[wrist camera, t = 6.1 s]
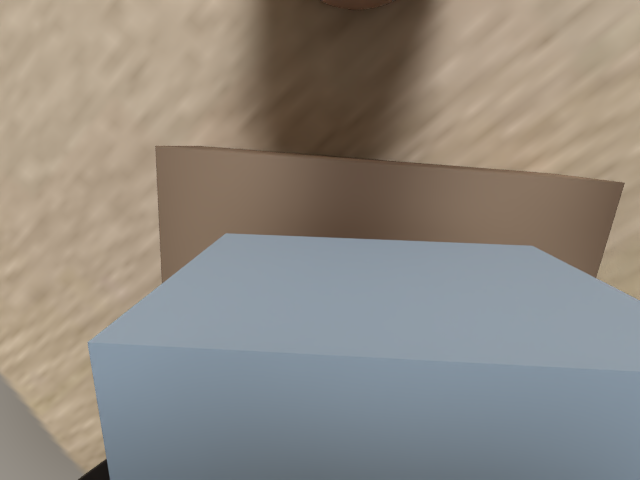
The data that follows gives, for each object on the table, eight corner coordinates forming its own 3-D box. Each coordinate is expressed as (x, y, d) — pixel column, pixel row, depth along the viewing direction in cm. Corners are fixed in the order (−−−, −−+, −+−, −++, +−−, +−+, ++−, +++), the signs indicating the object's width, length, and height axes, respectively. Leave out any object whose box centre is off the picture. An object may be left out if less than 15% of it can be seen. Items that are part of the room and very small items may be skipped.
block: (532, 245, 7) (795, 379, 3) (478, 518, 9) (594, 824, 5) (225, 233, 7) (87, 342, 3) (237, 502, 9) (159, 780, 5)
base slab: (553, 173, 10) (624, 182, 7) (482, 459, 12) (518, 535, 10) (199, 146, 10) (155, 146, 8) (203, 432, 13) (172, 500, 10)
